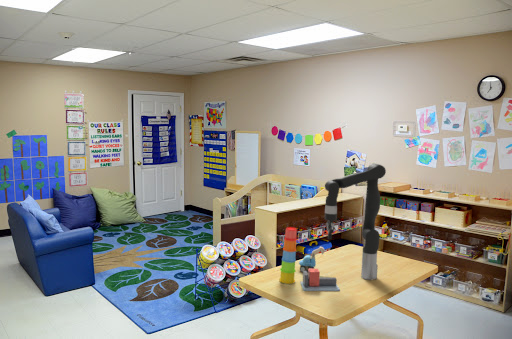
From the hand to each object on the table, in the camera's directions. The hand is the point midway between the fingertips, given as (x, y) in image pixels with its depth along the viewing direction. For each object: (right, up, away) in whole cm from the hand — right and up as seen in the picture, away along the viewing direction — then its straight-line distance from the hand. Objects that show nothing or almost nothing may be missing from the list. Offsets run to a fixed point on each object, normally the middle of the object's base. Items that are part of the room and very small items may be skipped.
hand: (329, 238), depth 255 cm
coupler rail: (-8, -28, -10) cm, 31 cm away
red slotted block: (-12, -26, -10) cm, 31 cm away
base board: (-8, -28, -10) cm, 31 cm away
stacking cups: (-27, -27, -2) cm, 38 cm away
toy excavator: (-9, -25, +18) cm, 33 cm away
